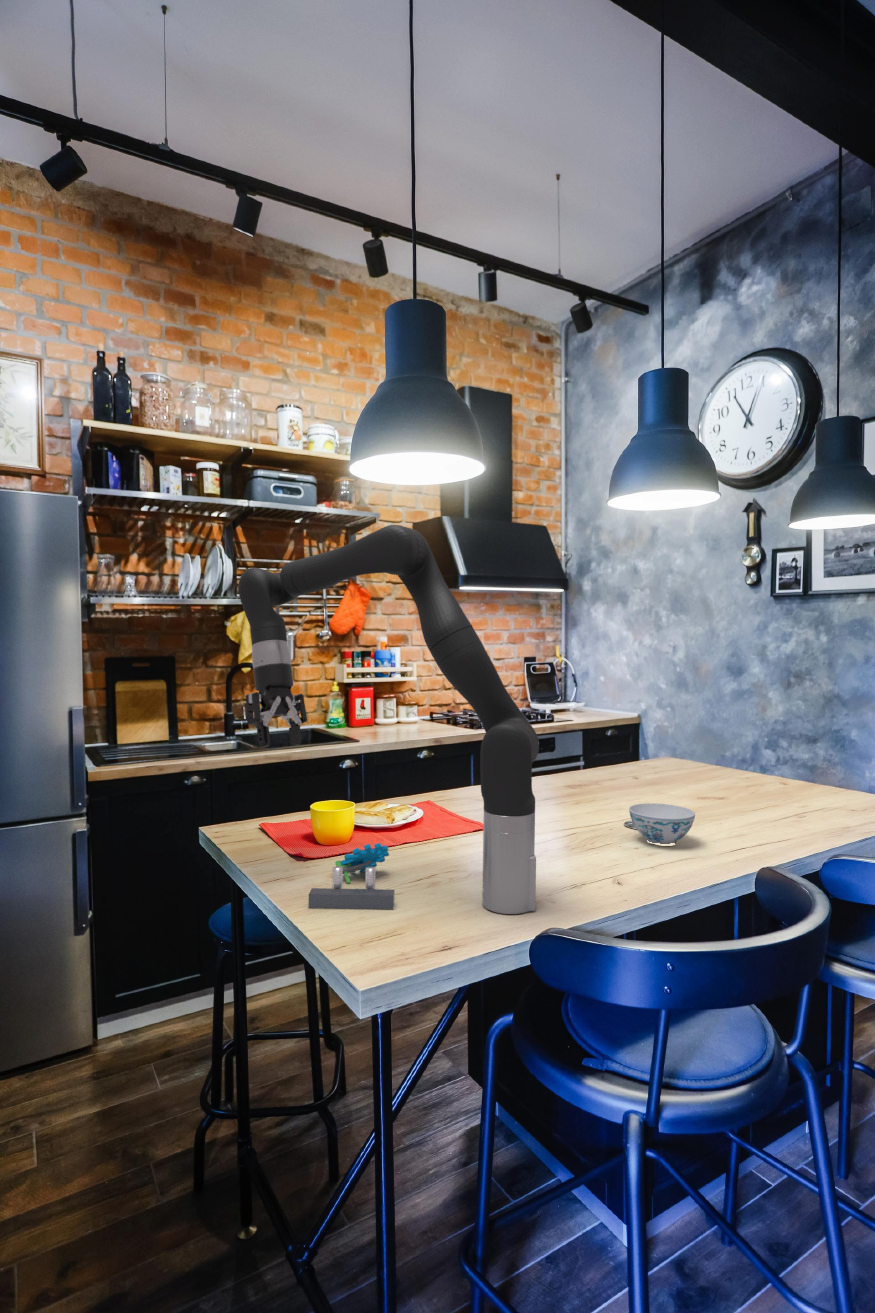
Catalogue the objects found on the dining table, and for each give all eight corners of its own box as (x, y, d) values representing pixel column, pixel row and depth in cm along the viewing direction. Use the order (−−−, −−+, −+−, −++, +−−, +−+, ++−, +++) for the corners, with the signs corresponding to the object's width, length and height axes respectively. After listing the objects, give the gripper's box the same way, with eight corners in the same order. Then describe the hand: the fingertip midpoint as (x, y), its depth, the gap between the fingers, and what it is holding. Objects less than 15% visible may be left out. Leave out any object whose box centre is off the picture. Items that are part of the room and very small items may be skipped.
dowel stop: (395, 899, 132) (395, 867, 131) (393, 909, 127) (393, 876, 127) (313, 898, 132) (313, 865, 132) (308, 908, 127) (308, 874, 127)
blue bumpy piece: (384, 859, 150) (390, 835, 143) (392, 885, 146) (399, 862, 139) (332, 872, 146) (336, 848, 139) (339, 899, 142) (344, 876, 135)
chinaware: (615, 838, 174) (615, 806, 174) (661, 831, 181) (661, 801, 181) (660, 855, 161) (661, 821, 161) (708, 847, 168) (709, 814, 167)
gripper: (259, 659, 137) (268, 744, 134) (310, 663, 149) (319, 741, 146) (232, 667, 140) (240, 750, 138) (283, 671, 152) (292, 747, 150)
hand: (281, 745), depth 142 cm, fingers open, 8 cm apart
